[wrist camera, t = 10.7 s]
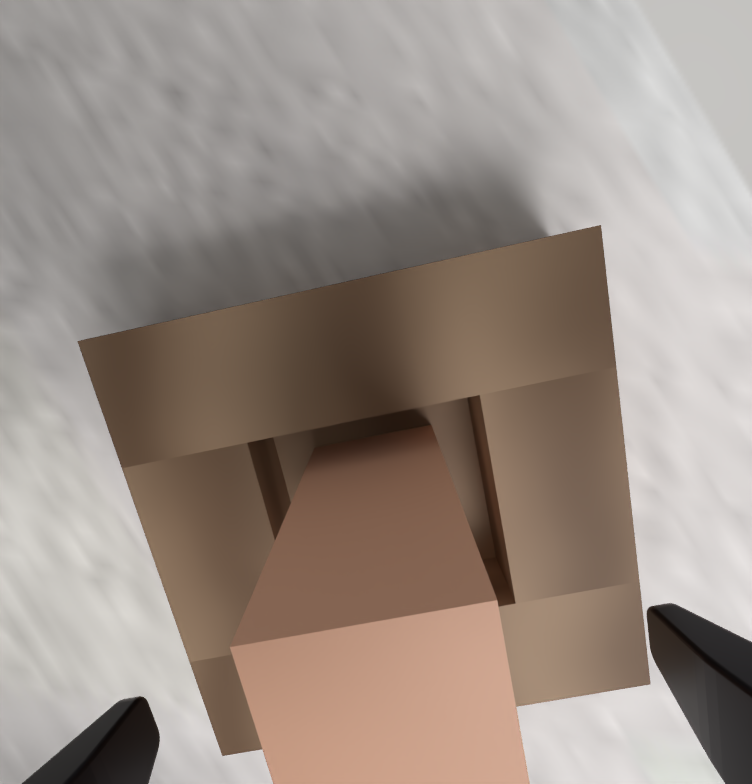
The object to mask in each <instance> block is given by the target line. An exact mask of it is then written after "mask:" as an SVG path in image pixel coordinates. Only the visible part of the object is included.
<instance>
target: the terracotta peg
mask: <svg viewBox="0 0 752 784" xmlns="http://www.w3.org/2000/svg"><path fill="white" fill-rule="evenodd" d="M230 649H231V652H232V656H233V659H234V662H235V665H236V668H237V671H238V674H239V677H240V681H241V684H242V687H243V690H244V693H245V696H246V699H247V702H248V706H249V709H250V712H251V715H252V718H253V721H254V724H255V727H256V731H257V734H258V737H259V740H260V743H261V746H262V749H263V752H264V756H265V759H266V762H267V765H268V768H269V771H270V774H271V777H272V781H273V784H530V783H529V777H528V772H527V766H526V760H525V755H524V749H523V743H522V738H521V732H520V726H519V720H518V715H517V709H516V703H515V698H514V692H513V686H512V681H511V675H510V669H509V664H508V658H507V652H506V647H505V641H504V635H503V629H502V624H501V618H500V612H499V607H498V601H497V598H496V595H495V593H494V590H493V587H492V585H491V582H490V579H489V577H488V574H487V571H486V569H485V566H484V563H483V561H482V558H481V555H480V553H479V550H478V547H477V545H476V542H475V539H474V537H473V534H472V531H471V529H470V526H469V524H468V521H467V518H466V516H465V513H464V510H463V508H462V505H461V502H460V500H459V497H458V494H457V492H456V489H455V486H454V484H453V481H452V478H451V476H450V473H449V470H448V468H447V465H446V462H445V460H444V457H443V454H442V452H441V449H440V446H439V444H438V441H437V438H436V436H435V433H434V431H433V428H432V425H427V426H422V427H417V428H412V429H406V430H401V431H396V432H391V433H386V434H381V435H376V436H371V437H366V438H361V439H356V440H351V441H346V442H341V443H336V444H331V445H326V446H321V447H316V448H314V450H313V452H312V455H311V457H310V459H309V462H308V464H307V467H306V469H305V471H304V474H303V476H302V478H301V481H300V483H299V485H298V488H297V490H296V492H295V495H294V497H293V500H292V502H291V504H290V507H289V509H288V511H287V514H286V516H285V518H284V521H283V523H282V525H281V528H280V530H279V533H278V535H277V537H276V540H275V542H274V544H273V547H272V549H271V551H270V554H269V556H268V558H267V561H266V563H265V566H264V568H263V570H262V573H261V575H260V577H259V580H258V582H257V584H256V587H255V589H254V591H253V594H252V596H251V599H250V601H249V603H248V606H247V608H246V610H245V613H244V615H243V617H242V620H241V622H240V625H239V627H238V629H237V632H236V634H235V636H234V639H233V641H232V643H231V646H230Z"/></svg>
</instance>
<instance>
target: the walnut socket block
mask: <svg viewBox="0 0 752 784" xmlns="http://www.w3.org/2000/svg"><path fill="white" fill-rule="evenodd" d="M78 344H79V347H80V350H81V352H82V355H83V358H84V361H85V364H86V367H87V370H88V372H89V375H90V378H91V381H92V384H93V387H94V390H95V392H96V395H97V398H98V401H99V404H100V407H101V410H102V413H103V415H104V418H105V421H106V424H107V427H108V430H109V433H110V435H111V438H112V441H113V444H114V447H115V450H116V453H117V455H118V458H119V461H120V464H121V467H122V470H123V473H124V475H125V478H126V481H127V484H128V487H129V490H130V493H131V496H132V498H133V501H134V504H135V507H136V510H137V513H138V516H139V518H140V521H141V524H142V527H143V530H144V533H145V536H146V538H147V541H148V544H149V547H150V550H151V553H152V556H153V558H154V561H155V564H156V567H157V570H158V573H159V576H160V578H161V581H162V584H163V587H164V590H165V593H166V596H167V599H168V601H169V604H170V607H171V610H172V613H173V616H174V619H175V621H176V624H177V627H178V630H179V633H180V636H181V639H182V641H183V644H184V647H185V650H186V653H187V656H188V659H189V661H190V664H191V667H192V670H193V673H194V676H195V679H196V682H197V684H198V687H199V690H200V693H201V696H202V699H203V702H204V704H205V707H206V710H207V713H208V716H209V719H210V722H211V724H212V727H213V730H214V733H215V736H216V739H217V742H218V744H219V747H220V750H221V753H222V756H225V755H231V754H237V753H243V752H249V751H255V750H261V749H262V746H261V743H260V740H259V737H258V734H257V731H256V727H255V724H254V721H253V718H252V715H251V712H250V709H249V706H248V702H247V699H246V696H245V693H244V690H243V687H242V684H241V681H240V677H239V674H238V671H237V668H236V665H235V662H234V659H233V656H232V652H231V649H230V646H231V643H232V641H233V639H234V636H235V634H236V632H237V629H238V627H239V625H240V622H241V620H242V617H243V615H244V613H245V610H246V608H247V606H248V603H249V601H250V599H251V596H252V594H253V591H254V589H255V587H256V584H257V582H258V580H259V577H260V575H261V573H262V570H263V568H264V566H265V563H266V561H267V558H268V556H269V554H270V551H271V549H272V547H273V544H274V542H275V540H276V537H277V535H278V533H279V530H280V528H281V525H282V523H283V521H284V518H285V516H286V514H287V511H288V509H289V507H290V504H291V502H292V500H293V497H294V495H295V492H296V490H297V488H298V485H299V483H300V481H301V478H302V476H303V474H304V471H305V469H306V467H307V464H308V462H309V459H310V457H311V455H312V452H313V450H314V448H316V447H321V446H326V445H331V444H336V443H341V442H346V441H351V440H356V439H361V438H366V437H371V436H376V435H381V434H386V433H391V432H396V431H401V430H406V429H412V428H417V427H422V426H427V425H432V428H433V431H434V433H435V436H436V438H437V441H438V444H439V446H440V449H441V452H442V454H443V457H444V460H445V462H446V465H447V468H448V470H449V473H450V476H451V478H452V481H453V484H454V486H455V489H456V492H457V494H458V497H459V500H460V502H461V505H462V508H463V510H464V513H465V516H466V518H467V521H468V524H469V526H470V529H471V531H472V534H473V537H474V539H475V542H476V545H477V547H478V550H479V553H480V555H481V558H482V561H483V563H484V566H485V569H486V571H487V574H488V577H489V579H490V582H491V585H492V587H493V590H494V593H495V595H496V598H497V601H498V607H499V612H500V618H501V624H502V629H503V635H504V641H505V647H506V652H507V658H508V664H509V669H510V675H511V681H512V686H513V692H514V698H515V703H516V707H517V706H523V705H529V704H535V703H541V702H547V701H553V700H559V699H565V698H571V697H577V696H583V695H589V694H595V693H601V692H607V691H613V690H619V689H625V688H631V687H637V686H643V685H649V684H650V676H649V666H648V657H647V648H646V638H645V629H644V620H643V611H642V601H641V592H640V583H639V574H638V564H637V555H636V546H635V537H634V527H633V518H632V509H631V500H630V490H629V481H628V472H627V462H626V453H625V444H624V435H623V425H622V416H621V407H620V398H619V388H618V379H617V370H616V361H615V351H614V342H613V333H612V324H611V314H610V305H609V296H608V286H607V277H606V268H605V259H604V249H603V240H602V231H601V225H599V226H595V227H590V228H586V229H581V230H577V231H572V232H568V233H563V234H559V235H554V236H550V237H545V238H541V239H536V240H532V241H527V242H523V243H518V244H514V245H509V246H505V247H500V248H496V249H491V250H487V251H482V252H478V253H473V254H469V255H464V256H460V257H455V258H451V259H446V260H442V261H437V262H433V263H428V264H423V265H419V266H414V267H410V268H405V269H401V270H396V271H392V272H387V273H383V274H378V275H374V276H369V277H365V278H360V279H356V280H351V281H347V282H342V283H338V284H333V285H329V286H324V287H320V288H315V289H311V290H306V291H302V292H297V293H293V294H288V295H284V296H279V297H275V298H270V299H266V300H261V301H257V302H252V303H248V304H243V305H239V306H234V307H230V308H225V309H221V310H216V311H212V312H207V313H203V314H198V315H194V316H189V317H185V318H180V319H176V320H171V321H167V322H162V323H158V324H153V325H149V326H144V327H140V328H135V329H131V330H126V331H122V332H117V333H113V334H108V335H104V336H99V337H95V338H90V339H86V340H81V341H78Z"/></svg>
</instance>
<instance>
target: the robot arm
mask: <svg viewBox="0 0 752 784" xmlns="http://www.w3.org/2000/svg"><path fill="white" fill-rule="evenodd" d="M647 623H648V632H649V642H650V649H651V653H652V656H653V658H654V661H655V663H656V665H657V667H658V668H659V670H660V672H661V674H662V675H663V677H664V679H665V681H666V683H667V684H668V686H669V688H670V690H671V692H672V693H673V695H674V697H675V699H676V701H677V702H678V704H679V706H680V708H681V709H682V711H683V713H684V715H685V717H686V718H687V720H688V722H689V724H690V726H691V727H692V729H693V731H694V733H695V734H696V736H697V738H698V740H699V742H700V743H701V745H702V747H703V749H704V750H705V752H706V754H707V755H708V757H709V759H710V761H711V762H712V764H713V765H714V767H715V768H716V770H717V772H718V773H719V775H720V776H721V778H722V779H723V781H724V782H725V784H752V642H751V641H748V640H746V639H744V638H742V637H740V636H738V635H736V634H734V633H732V632H730V631H728V630H726V629H724V628H722V627H720V626H718V625H716V624H714V623H712V622H710V621H708V620H706V619H704V618H702V617H700V616H698V615H696V614H694V613H692V612H690V611H688V610H686V609H684V608H682V607H680V606H678V605H676V604H672V603H667V604H662V605H656V606H651V607H649V608H648V610H647ZM159 741H160V736H159V730H158V727H157V725H156V722H155V720H154V717H153V714H152V712H151V709H150V707H149V704H148V702H147V700H146V699H145V698H144V697H140V696H139V697H133V698H128V699H123V700H120V701H119V702H117V703H116V704H115V705H114V706H112V707H111V708H110V709H109V710H108V711H107V712H105V713H104V714H103V715H102V716H101V717H99V718H98V719H97V720H96V721H95V722H94V723H92V724H91V725H90V726H89V727H88V728H87V729H85V730H84V731H83V732H82V733H81V734H80V735H78V736H77V737H76V738H75V739H74V740H72V741H71V742H70V743H69V744H68V745H67V746H65V747H64V748H63V749H62V750H61V751H60V752H58V753H57V754H56V755H55V756H54V757H53V758H51V759H50V760H49V761H48V762H47V763H46V764H44V765H43V766H42V767H41V768H40V769H38V770H37V771H36V772H35V773H34V774H33V775H31V776H30V777H29V778H28V779H27V780H26V781H24V782H23V783H22V784H148V783H149V780H150V776H151V773H152V769H153V766H154V762H155V759H156V755H157V752H158V748H159Z"/></svg>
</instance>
